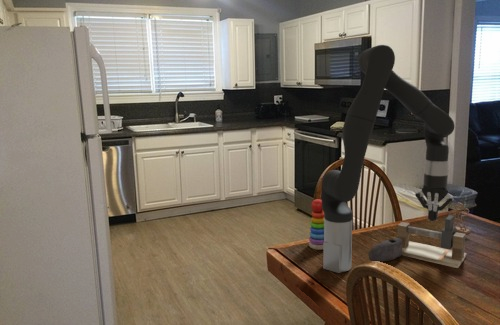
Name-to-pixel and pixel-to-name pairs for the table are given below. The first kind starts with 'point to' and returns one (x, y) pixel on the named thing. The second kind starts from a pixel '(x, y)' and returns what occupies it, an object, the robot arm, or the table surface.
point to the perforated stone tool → (386, 250)
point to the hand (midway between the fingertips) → (432, 220)
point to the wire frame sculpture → (460, 228)
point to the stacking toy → (317, 226)
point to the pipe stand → (432, 252)
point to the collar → (448, 233)
